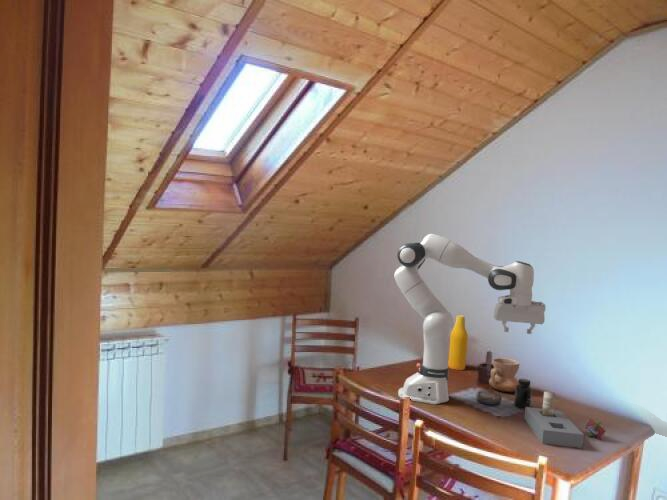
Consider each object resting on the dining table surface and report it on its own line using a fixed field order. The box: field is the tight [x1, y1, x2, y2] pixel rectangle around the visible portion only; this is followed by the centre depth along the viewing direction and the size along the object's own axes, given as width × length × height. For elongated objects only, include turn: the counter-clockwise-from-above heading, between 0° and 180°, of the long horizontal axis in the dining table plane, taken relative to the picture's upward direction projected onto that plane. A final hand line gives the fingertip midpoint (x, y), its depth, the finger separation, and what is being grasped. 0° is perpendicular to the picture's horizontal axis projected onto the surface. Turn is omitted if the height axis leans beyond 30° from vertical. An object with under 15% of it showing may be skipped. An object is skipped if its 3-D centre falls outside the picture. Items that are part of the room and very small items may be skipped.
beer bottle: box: [448, 314, 468, 371], centre depth 278 cm, size 9×9×29 cm
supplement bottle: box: [513, 378, 533, 410], centre depth 222 cm, size 7×7×12 cm
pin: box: [541, 391, 556, 417], centre depth 201 cm, size 4×4×12 cm
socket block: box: [524, 406, 585, 449], centre depth 195 cm, size 14×24×5 cm, turn 174°
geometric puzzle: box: [585, 418, 606, 441], centre depth 193 cm, size 7×7×8 cm
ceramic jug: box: [488, 357, 521, 393], centre depth 245 cm, size 18×14×14 cm
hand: (517, 332), depth 213 cm, fingers open, 8 cm apart
